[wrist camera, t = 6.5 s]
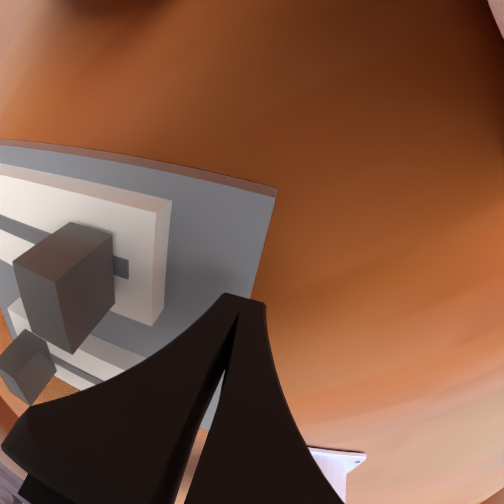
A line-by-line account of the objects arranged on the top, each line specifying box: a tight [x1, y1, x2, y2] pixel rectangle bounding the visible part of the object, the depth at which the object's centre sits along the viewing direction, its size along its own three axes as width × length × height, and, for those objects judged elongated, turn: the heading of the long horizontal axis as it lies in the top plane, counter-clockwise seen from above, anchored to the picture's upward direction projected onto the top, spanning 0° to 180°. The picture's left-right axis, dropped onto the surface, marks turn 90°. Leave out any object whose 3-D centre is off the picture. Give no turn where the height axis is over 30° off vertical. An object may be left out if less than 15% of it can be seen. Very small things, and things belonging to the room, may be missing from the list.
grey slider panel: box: [0, 139, 278, 431], centre depth 13 cm, size 16×18×6 cm
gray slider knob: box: [12, 222, 115, 355], centre depth 9 cm, size 3×2×3 cm, turn 168°
